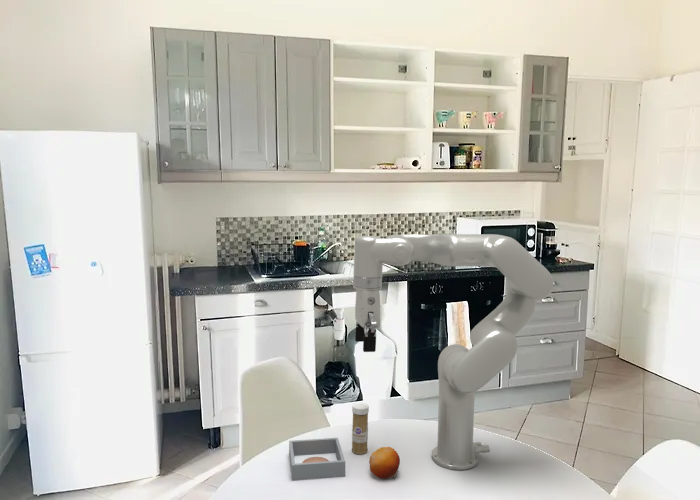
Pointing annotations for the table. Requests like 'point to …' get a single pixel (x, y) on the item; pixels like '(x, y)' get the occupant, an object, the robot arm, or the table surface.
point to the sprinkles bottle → (360, 428)
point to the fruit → (384, 463)
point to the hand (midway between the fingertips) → (365, 346)
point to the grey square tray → (316, 459)
